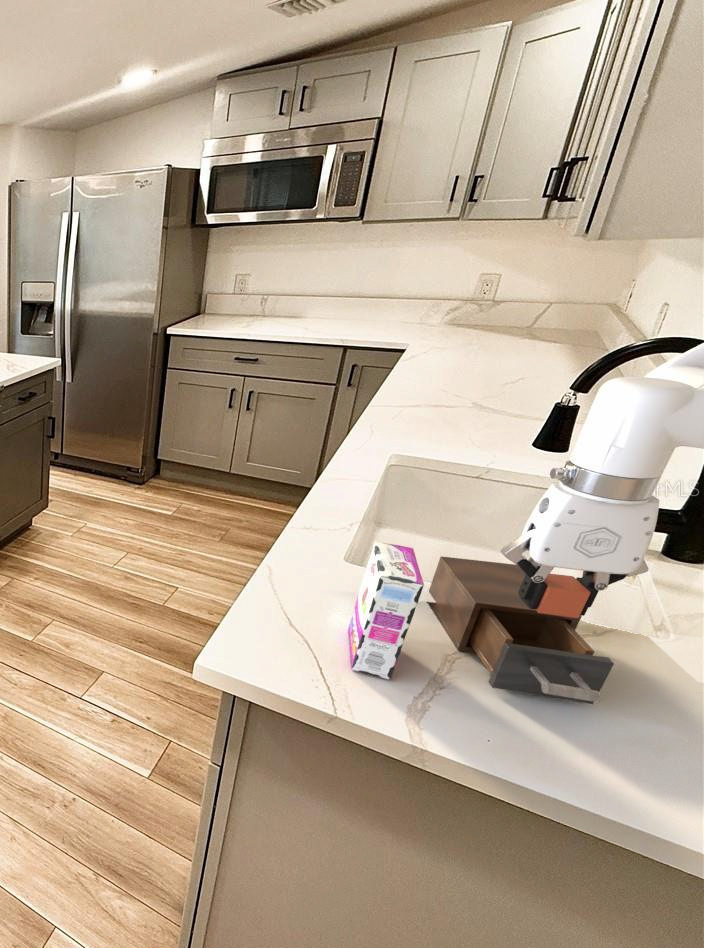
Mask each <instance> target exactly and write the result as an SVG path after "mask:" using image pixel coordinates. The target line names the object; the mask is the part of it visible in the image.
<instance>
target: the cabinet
mask: <svg viewBox="0 0 704 948" xmlns="http://www.w3.org/2000/svg"><path fill="white" fill-rule="evenodd" d="M525 575H526V573H525V572H524V571H523V570H522V569H521V568H520V567H519V566H518V565H516V564H515V563H507V562H506V563H505V562H496V561H485V560H477V559H469V558H459V557H451V556H439V560H438V563H437V566H436V569H435V572H434V575H433V577H432V581H431V583H430V586H429V588H428V593H429V594H430V596H431V597H432V598H433V600H434V602H433V601H426V603H427V605H428V606H429V608H430V610H431V611H432V613H433V614H434V615H435V617H436V619H437V620H438V622H439V623H440V625H441V626H442V629H444V631H445V633H446V634H447V636H448V637H449V639H450V640H451V642H452V645H454V647H455V649H456V650H457V651H460V652H461V651H462V652H467V653H474V654H477V653H476V652H475V650H474V649H473V647H472V646H471V644H470V643H469V641H468V640H469V637H470V634H471V632H472V629H473V627H474V624H475V622H476V619H477V616H478V614H479V611H480V609H481V608H485V609H492V610H500V611H508V612H515V613H523V614H531V615H538V616H546V617H553V618H561V619H565V620H566V621H567V623H568V624H569V625H570V626H571V627H572V628H573V629H574V630H575V631H576V630H577V628H578V625H579V623H580V621H581V619H582V617H583V616H581V615H580V616H579V618H572V617H565V616H557V615H550V614H542V613H538V612H537V611H536V610H535V609H529V608H528V606H527V605H526V604H525V603H524V602H523V601H522V600H521V598H520V597H519V595H518V592H519V589H520V587H521V584H522V582H523V579H524V577H525Z"/></svg>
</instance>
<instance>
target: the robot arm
mask: <svg viewBox="0 0 704 948" xmlns="http://www.w3.org/2000/svg"><path fill="white" fill-rule="evenodd" d="M679 447H688V448H696V449H702V450H704V342H703V343H701V344H698V345H697V346H695V347H693V348H690V349H689V350H687V351H685V352H682V353H681V354H679V355H677V356H675V357H673V358H671V359H670V360H668V361H666V362H664V363H662V364H661V365H658V366H657V367H656V368H654V369H653V370H651V371H649V372H648V373H647V374H646V375H644V376H620V377H615V378H612V379H609V380H607V381H606V382H603V384H602V385H601V386H600V387H599V389H598V391H597V392H596V395H595V397H594V399H593V402H592V405H591V407H590V409H589V411H588V414H587V416H586V419H585V421H584V423H583V427H582V428H581V430H580V433H579V436H578V438H577V441H576V443H575V446H574V448H573V451H572V452H571V455H570V458H569V459H568V460H566V462H565V464H564V466H563V467H560V468H558V467H553V468H552V469H551V470H550V472H549V477H550V478H551V479H553V480H558V481H555V482H553V483H551V485H550V486H549V488H548V489H546V491H545V493H544V494H543V495H542V497H541V498H540V500H539V501H538V502H537V504H536V505H535V507H534V509H533V510H532V512H531V514H530V516H529V518H528V520H527V522H526V524H525V526H524V528H523V531H522V533H521V535H520V536H519V537H517V538H516V539H514V540H513V541H511V542H509V543H508V544H506V545H505V546H503V547H502V548H501V549H500V553H501V554H502V555H503V556H504V558H506V559H507V560H509V561H510V562H512V564H515V565H518V566H519V567H520V568H521V569H522V570H523V571H524V572H525V573H526V575H525V577H524V579H523V582H522V584H521V587H520V589H519V592H518V595H519V597H520V598H521V600H522V601H523V602H524V603H525V604H526V605H527V606H528V608H529V609H537V608H538V606H539V604H540V602H541V599H542V597H543V595H544V593H545V590H546V588H547V584H546V583H545V582H544V580H545V579H546V578H547V576H548V575H549V574H551V572H552V571H553V570H554V569H555V568H559V569H566V570H574V571H582V576H581V577H578V576H577V577H575V578H576V579H577V580H578V581H579V582H580V583H581V584H582V585H583V586H584V587H585V588H586V589H587V590H588V591H590V592H591V593H590V595H589V597H588V599H587V601H586V603H585V606H584V608H583V610H582V612H581V614H580V615H581V616H582V617H584V616H585V615H586V614H587V612H588V609H589V608H591V607H593V604H594V602H595V600H596V598H597V595H598V593H599V592H601V591H605V590H607V589H608V587H609V585H612V584H614V583H617V582H620V581H622V580H624V579H626V578H627V577H628V578H629V577H635V576H637V575H641V574H645V573H647V572H649V570H650V569H649V566H648V564H647V562H646V560H645V558H646V555H647V553H648V550H649V548H650V545H651V542H652V539H653V536H654V533H655V529H656V526H657V522H658V517H659V510H660V499H659V498H657V497H656V496H653V494H654V492H655V491H656V488H657V486H658V484H659V482H660V480H661V478H662V476H663V474H664V471H665V470H666V468H667V465H668V464H669V461H670V459H671V458H672V455H673V453H674V451H675V450H676V448H679ZM526 551H528V552H529V553H528V554H529V558H527V557H526V556H525V555H523V553H525V552H526Z"/></svg>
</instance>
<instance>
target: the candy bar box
mask: <svg viewBox="0 0 704 948" xmlns="http://www.w3.org/2000/svg"><path fill="white" fill-rule="evenodd" d="M424 586H425V583H424V579H423V577H422V574H421V571H420V566H419V564H418V559H417V556H416V553H415V550H414V548H413V547H410V546H404V545H399V544H394V543H393V544H392V543H385V542H380V541H374V542H373V546H372V549H371V551H370V556H369V559H368V563H367V565H366V568H365V572H364V575H363V579H362V582H361V585H360V589H359V592H358V595H357V598H356V602H355V605H354V609H353V611H352V615H351V619H350V622H349V626H348V629H347V633H348V644H349V645H348V646H349V658H350V669H351V671H352V672H356V673H360V674H363V675H367V676H371V677H376V678H378V679H382V680H387V681H391V680H392V676H393V674H394V671H395V668H396V665H397V662H398V659H399V656H400V653H401V651H402V648H403V646H404V642H405V639H406V637H407V634H408V630H409V629H410V625H411V623H412V621H413V618H414V614H415V612H416V608H417V605H418V603H419V600H420V598H421V594H422V592H423V589H424Z"/></svg>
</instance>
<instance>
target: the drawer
mask: <svg viewBox="0 0 704 948" xmlns="http://www.w3.org/2000/svg"><path fill="white" fill-rule="evenodd" d="M468 641H469V643H470V644H471V646H472V647H473V649H474V650H475V652H476V653H475V654H476V655H477V657H478V658H479V659H480V661H481V662H482V664H483V665H484V667H485V668H486V669H487V671H488V673H489V674H490V677H489V680H488V684H489V685H490V687H491V688H492V689H497V690H503V691H510V692H515V693H521V694H526V695H527V694H528V695H533V696H540V697H546V698H552V699H558V700H562V701H563V700H564V701H569V702H575V703H576V702H577V703H580V704H581V703H582V704H588V705H594V704H595V703H599V702H600V700H601V693H600V692H601V690H602V688H603V686H604V684H605V682H606V680H607V678H608V677H609V674H610V672H611V671H612V669H613V667H614V665H615V662H613V660H612V659H611V658H609V657H605V656H600V655H594V654H595V650H594V649H593V648H592V647H591V646H590V644H589V643H588V642H587V641H585V639H584V638H583V637H582V636H581V635H580V634H579V633H578V632H577V631H576V630H574V629H573V628H572V627H571V626H570V625H569V624H568V623H567V621H566V620H565V619H561V618H553V617H546V616H538V615H531V614H523V613H515V612H508V611H500V610H492V609H485V608H481V609H480V611H479V614H478V616H477V619H476V622H475V624H474V627H473V629H472V632H471V634H470V637H469V640H468Z"/></svg>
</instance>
